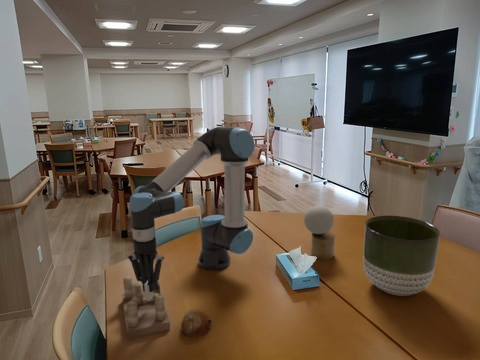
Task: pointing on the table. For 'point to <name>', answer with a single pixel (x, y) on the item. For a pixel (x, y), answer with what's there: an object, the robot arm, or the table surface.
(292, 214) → the table surface
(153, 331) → the peg board
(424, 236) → the planter
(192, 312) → the bread roll
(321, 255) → the lamp
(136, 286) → the hinged leg
